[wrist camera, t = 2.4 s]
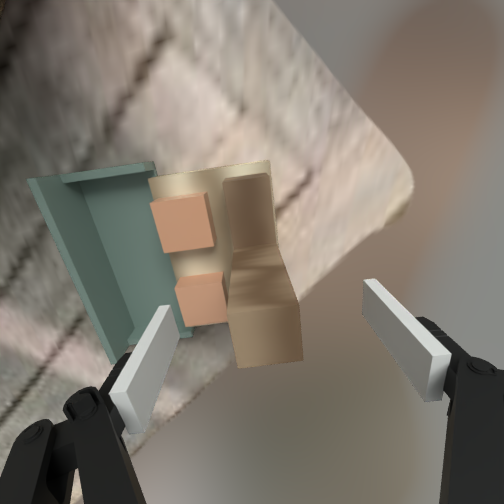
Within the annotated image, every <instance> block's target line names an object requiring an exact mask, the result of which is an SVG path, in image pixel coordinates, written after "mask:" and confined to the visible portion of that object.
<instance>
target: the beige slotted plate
mask: <svg viewBox="0 0 504 504" xmlns="http://www.w3.org/2000/svg"><path fill="white" fill-rule="evenodd" d="M265 172H266V173H267V174H268V175H269V176H270V185H271V194H272V204H273V213H274V223H275V232H276V242H277V245H278V237H277V228H276V218H275V208H274V199H273V189H272V179H271V170H270V161H268V160H264V161H257V162H250V163H244V164H237V165H230V166H223V167H216V168H209V169H203V170H196V171H189V172H182V173H175V174H168V175H162V176H156V177H152V178H148V182H149V185H150V189H151V192H152V196H153V199H154V200H156V199H158V198H165V197H172V196H179V195H186V194H193V193H200V192H206V191H207V192H208V197H209V202H210V207H211V212H212V217H213V222H214V227H215V232H216V237H217V239H216V242H215V245H214V246H213V247H206V248H199V249H192V250H185V251H177V252H170V253H169V256H170V259H171V263H172V266H173V270H174V273H175V277H176V280H177V282H178V280H179V278H180V277H186V276H193V275H200V274H208V273H215V272H222V271H223V272H224V277H225V282H226V287H227V292H228V297H229V288H230V279H231V269H232V260H233V251H234V248H233V242H232V237H231V231H230V225H229V220H228V214H227V208H226V203H225V197H224V191H223V186H222V182H223V181H224V179H225V178H230V177H237V176H244V175H251V174H258V173H265ZM278 248H279V247H278ZM227 322H228V321H227ZM219 323H226V322H219ZM219 323H212V324H219ZM204 325H211V324H204ZM204 325H196V326H204ZM196 326H190V327H196Z"/></svg>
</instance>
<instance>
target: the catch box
mask: <svg viewBox="0 0 504 504" xmlns="http://www.w3.org/2000/svg"><path fill="white" fill-rule="evenodd" d="M156 176H157V172H156V168H155V164H154V162H143V163H136V164H130V165H123V166H116V167H109V168H103V169H96V170H89V171H82V172H76V173H69V174H62V175H54V176H45V177H37V178H30V179H26V181H27V183H28V185H29V187H30V189H31V191H32V194H33V196H34V198H35V200H36V202H37V204H38V207H39V209H40V211H41V213H42V215H43V217H44V220H45V222H46V224H47V226H48V228H49V231H50V233H51V235H52V237H53V239H54V241H55V244H56V246H57V248H58V250H59V252H60V254H61V257H62V259H63V261H64V263H65V265H66V267H67V270H68V272H69V274H70V276H71V278H72V280H73V283H74V285H75V287H76V289H77V291H78V293H79V296H80V298H81V300H82V302H83V304H84V306H85V309H86V311H87V313H88V315H89V317H90V319H91V322H92V324H93V326H94V328H95V330H96V332H97V335H98V337H99V339H100V341H101V343H102V345H103V348H104V350H105V352H106V354H107V356H108V358H109V361H110V363H111V365H112V364H116V363H117V361H118V360H119V359H120V358H121V357H122V356H123V355H124V353H125V351H126V350H127V348H128V346H129V345H134V344H138V342H139V340H140V339H141V337H142V335H143V333H144V332H145V330H146V328H147V326H148V325H149V323H150V321H151V319H152V318H153V316H154V314H155V313H156V311H157V309H158V307H159V306H163V305H171V309H172V312H173V315H174V318H175V322H176V325H177V328H178V332H179V335H180V338H188V337H193V333H194V330H195V327H190V326H189V327H185V323H184V320H183V316H182V313H181V310H180V306H179V303H178V299H177V296H176V292H175V289H174V288H175V286H176V284H177V280H176V277H175V273H174V270H173V266H172V263H171V259H170V256H169V253H164V251H163V248H162V244H161V241H160V237H159V234H158V231H157V227H156V224H155V220H154V217H153V213H152V210H151V206H150V203H151V202H152V201H154V199H153V196H152V192H151V189H150V185H149V182H148V178H152V177H156ZM180 338H179V339H180Z"/></svg>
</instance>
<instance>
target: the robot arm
mask: <svg viewBox="0 0 504 504" xmlns="http://www.w3.org/2000/svg"><path fill="white" fill-rule="evenodd" d="M362 315H363V316H364V317H365V319H366V320H367V322H368V323H369V325H370V326H371V327H372V329H373V330H374V332H375V333H376V334H377V336H378V337H379V338H380V340H381V341H382V343H383V344H384V346H385V347H386V348H387V350H388V351H389V353H390V354H391V356H392V357H393V358H394V360H395V361H396V362H397V364H398V365H399V367H400V368H401V370H402V371H403V372H404V374H405V375H406V377H407V378H408V379H409V381H410V382H411V384H412V385H413V386H414V388H415V389H416V391H417V392H418V394H419V395H420V396H421V398H422V399H423V400H424V402H430V401H439V400H442V396H443V391H444V392H445V393H446V394H447V395H448V396H449V398H450V403H449V407H448V412H447V416H448V422H447V431H446V441H445V451H444V461H443V471H442V482H441V492H440V500H439V504H504V370H500V369H497V368H496V367H495V366H494V365H492V364H491V363H489V362H487V361H485V360H483V359H480V358H476V357H471V356H470V355H469V354H468V353H466V351H464V350H463V349H462V348H461V347H460V346H459V345H458V344H457V343H456V342H455V341H453V340H452V339H451V338H450V337H449V336H447V334H446V333H444V331H442V330H441V329H440V328H439V327H438V326H437V325H436V324H435V323H434V322H432V321H430V320H428V319H427V318H425V317H414V316H412V315H411V314H410V313H409V312H408V311H407V310H406V309H405V308H404V307H403V306H402V305H401V304H400V303H399V302H398V301H397V300H396V299H395V298H394V297H393V296H392V295H391V294H390V293H389V292H388V291H387V290H386V289H385V288H384V287H383V286H382V285H381V284H380V283H379V282H378V281H377V280H376V279H368V280H364V281H363V305H362ZM179 338H180V335H179V332H178V328H177V325H176V322H175V318H174V315H173V312H172V309H171V305H163V306H159V307H158V309H157V311H156V313H155V314H154V316H153V318H152V319H151V321H150V323H149V325H148V326H147V328H146V330H145V332H144V333H143V335H142V337H141V339H140V340H139V342H138V344H137V345H136V347H135V349H134V351H133V352H131V353H125V354H124V355H123V356H122V357H121V358H120V359H119V360H118V361H117V363H116V364H115V366H114V367H113V370H112V371H111V372H110V374H109V377H107V379H106V380H105V382H104V383H103V385H102V387H101V388H100V390H99V391H98V390H97V388H96V387H92V386H91V387H86V388H83V389H81V390H79V391H77V392H76V393H75V394H73V395H72V396H71V397H70V398H69V399H68V400H67V401H66V403H65V404H64V407H63V412H64V414H65V415H66V417H67V418H68V420H66V421H63V422H60V423H58V424H55V425H53V423H52V422H51V421H50V420H49V419H43V420H40V421H37V422H35V423H33V424H32V425H30V426H29V427H27V428H26V429H25V430H24V431H22V433H21V434H20V435H19V436H18V437H17V438H16V440H15V442H14V443H13V446H12V448H11V451H10V454H9V456H8V459H7V461H6V464H5V466H4V469H3V472H2V474H1V477H0V504H70V500H71V493H72V486H73V480H74V473H75V469H77V468H78V470H79V476H80V482H81V488H82V494H83V500H84V504H146V501H145V498H144V496H143V493H142V490H141V487H140V485H139V482H138V479H137V477H136V474H135V471H134V468H133V465H132V462H131V460H130V457H129V454H128V451H127V449H126V446H125V443H124V440H123V438H122V436H121V434H122V432H123V430H124V428H125V427H126V429H127V431H128V433H129V434H137V433H145V430H146V428H147V425H148V422H149V420H150V417H151V414H152V411H153V409H154V406H155V403H156V401H157V398H158V395H159V392H160V390H161V387H162V384H163V382H164V379H165V376H166V373H167V371H168V368H169V365H170V362H171V360H172V357H173V354H174V352H175V349H176V346H177V343H178V341H179Z"/></svg>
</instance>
